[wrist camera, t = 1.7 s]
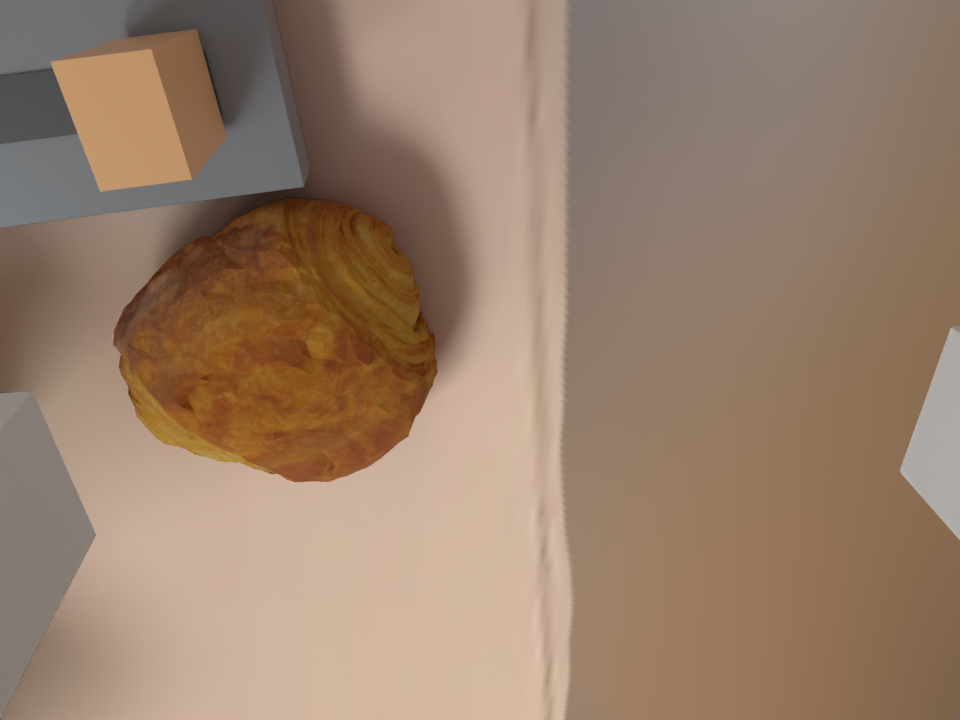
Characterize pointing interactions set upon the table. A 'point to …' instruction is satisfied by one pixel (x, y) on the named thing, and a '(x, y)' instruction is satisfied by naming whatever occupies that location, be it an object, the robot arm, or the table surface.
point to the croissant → (282, 343)
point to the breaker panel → (129, 13)
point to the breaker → (142, 108)
